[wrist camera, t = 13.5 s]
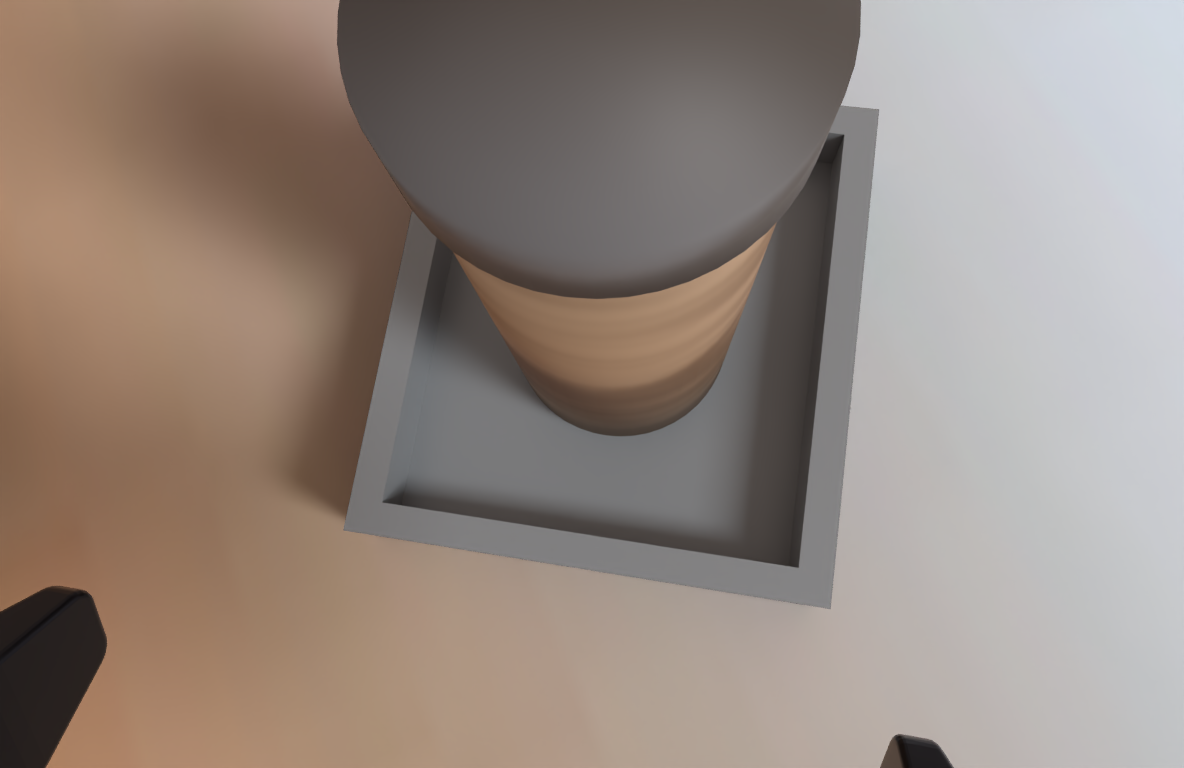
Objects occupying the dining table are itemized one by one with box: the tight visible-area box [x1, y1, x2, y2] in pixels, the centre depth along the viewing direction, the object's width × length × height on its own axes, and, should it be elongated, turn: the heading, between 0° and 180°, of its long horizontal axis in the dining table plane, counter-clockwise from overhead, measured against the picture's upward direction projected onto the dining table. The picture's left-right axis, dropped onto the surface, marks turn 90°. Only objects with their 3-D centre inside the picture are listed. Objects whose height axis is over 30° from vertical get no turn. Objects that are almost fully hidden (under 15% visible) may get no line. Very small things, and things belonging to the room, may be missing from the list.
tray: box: [344, 106, 879, 609], centre depth 23 cm, size 13×12×2 cm
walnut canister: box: [337, 0, 861, 436], centre depth 16 cm, size 6×6×14 cm
